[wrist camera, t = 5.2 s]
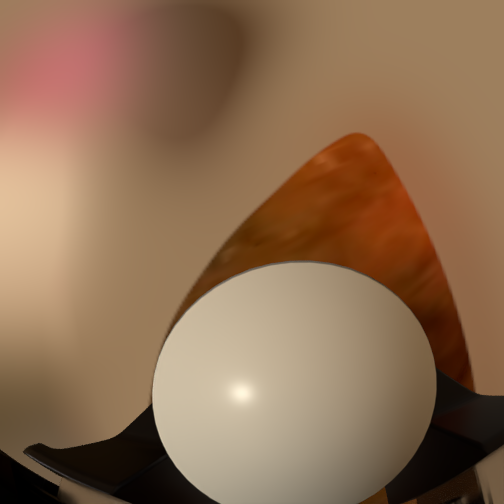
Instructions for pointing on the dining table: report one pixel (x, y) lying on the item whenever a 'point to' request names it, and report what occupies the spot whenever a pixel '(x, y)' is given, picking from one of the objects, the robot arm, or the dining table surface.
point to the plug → (294, 386)
